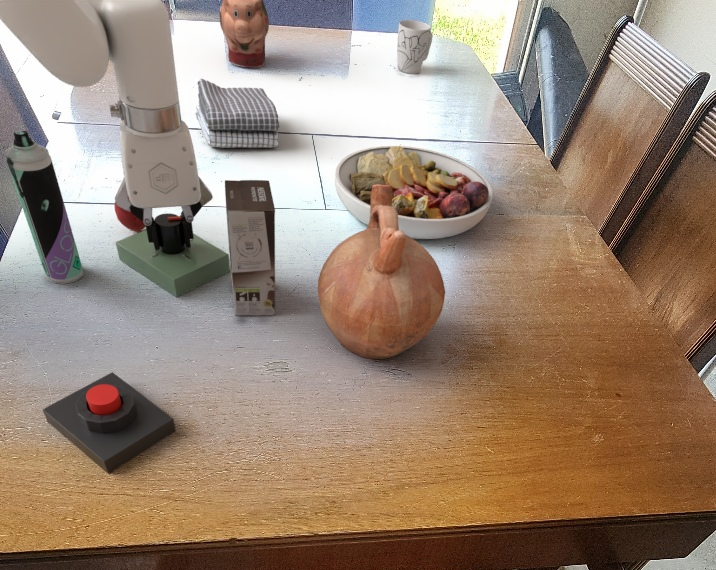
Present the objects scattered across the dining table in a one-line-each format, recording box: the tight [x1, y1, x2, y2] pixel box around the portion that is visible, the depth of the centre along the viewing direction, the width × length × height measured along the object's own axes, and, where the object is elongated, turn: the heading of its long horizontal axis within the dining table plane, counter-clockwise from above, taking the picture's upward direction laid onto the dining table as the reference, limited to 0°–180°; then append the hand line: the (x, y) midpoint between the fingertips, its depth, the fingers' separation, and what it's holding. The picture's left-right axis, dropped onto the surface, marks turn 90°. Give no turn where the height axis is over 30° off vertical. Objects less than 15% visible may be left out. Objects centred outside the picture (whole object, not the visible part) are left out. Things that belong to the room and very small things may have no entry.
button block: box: [42, 371, 177, 475], centre depth 74 cm, size 12×10×4 cm
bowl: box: [334, 145, 493, 240], centre depth 115 cm, size 30×30×8 cm
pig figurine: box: [219, 0, 270, 68], centre depth 152 cm, size 20×12×14 cm, turn 10°
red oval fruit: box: [113, 196, 146, 233], centre depth 100 cm, size 6×6×8 cm
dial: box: [154, 212, 185, 254], centre depth 93 cm, size 4×4×5 cm
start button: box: [86, 384, 121, 416], centre depth 72 cm, size 4×4×2 cm
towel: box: [195, 78, 280, 149], centre depth 127 cm, size 15×18×8 cm
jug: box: [317, 184, 446, 360], centre depth 84 cm, size 18×18×20 cm
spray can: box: [4, 130, 84, 285], centre depth 86 cm, size 6×6×20 cm
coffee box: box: [224, 179, 276, 316], centre depth 88 cm, size 9×6×16 cm
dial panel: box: [115, 229, 231, 298], centre depth 96 cm, size 14×11×3 cm
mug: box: [396, 19, 433, 75], centre depth 163 cm, size 11×8×10 cm
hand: (171, 243), depth 95 cm, fingers closed on dial, 4 cm apart
